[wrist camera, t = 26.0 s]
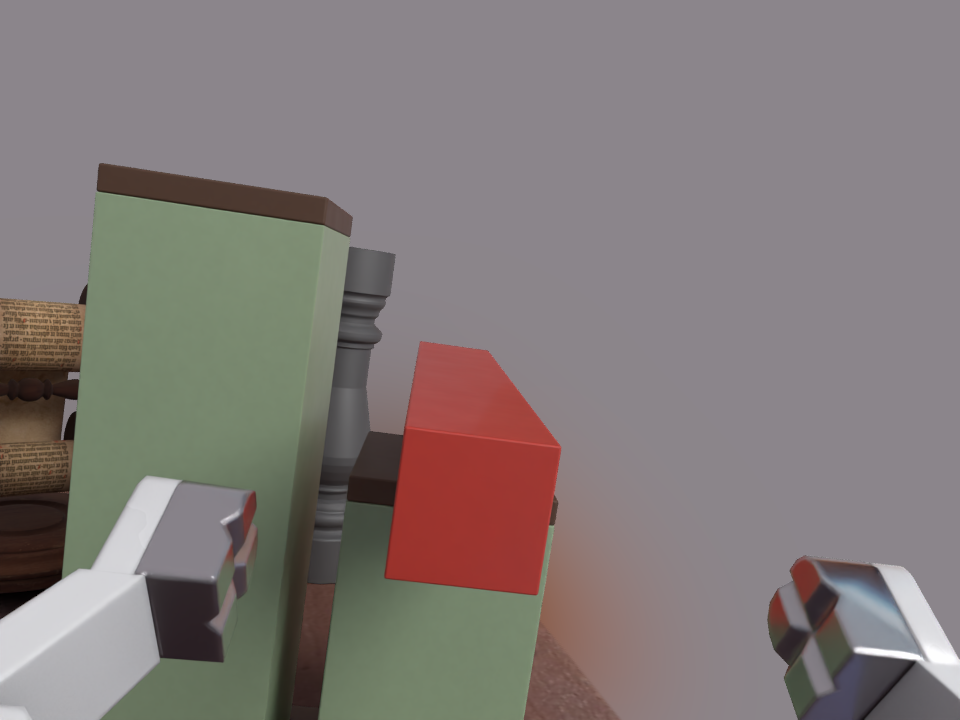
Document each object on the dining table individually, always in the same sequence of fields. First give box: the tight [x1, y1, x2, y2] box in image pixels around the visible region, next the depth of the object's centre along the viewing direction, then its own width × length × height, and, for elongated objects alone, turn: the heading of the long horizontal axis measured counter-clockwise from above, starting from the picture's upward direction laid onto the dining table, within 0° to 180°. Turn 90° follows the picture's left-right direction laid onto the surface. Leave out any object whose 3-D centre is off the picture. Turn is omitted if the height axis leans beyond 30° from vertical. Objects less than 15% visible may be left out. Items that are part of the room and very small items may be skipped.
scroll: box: [0, 284, 88, 593], centre depth 49 cm, size 15×15×20 cm
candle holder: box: [307, 247, 395, 584], centre depth 56 cm, size 6×6×25 cm
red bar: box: [384, 341, 561, 596], centre depth 30 cm, size 24×4×4 cm, turn 4°
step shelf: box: [62, 163, 558, 720], centre depth 31 cm, size 10×20×26 cm, turn 93°
